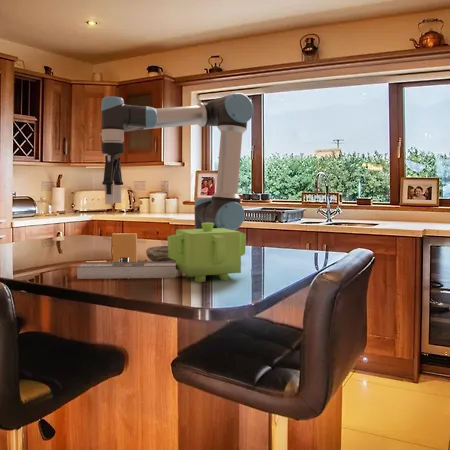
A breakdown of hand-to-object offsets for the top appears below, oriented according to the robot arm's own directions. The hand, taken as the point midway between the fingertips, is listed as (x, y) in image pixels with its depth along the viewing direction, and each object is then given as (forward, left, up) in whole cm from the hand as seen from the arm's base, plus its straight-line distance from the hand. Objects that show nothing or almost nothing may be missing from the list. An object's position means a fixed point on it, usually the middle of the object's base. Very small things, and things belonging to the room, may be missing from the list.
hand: (113, 203), depth 169 cm
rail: (-7, +19, -22) cm, 30 cm away
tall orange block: (-4, +5, -22) cm, 23 cm away
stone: (-18, -5, -23) cm, 29 cm away
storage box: (-32, +23, -22) cm, 46 cm away
